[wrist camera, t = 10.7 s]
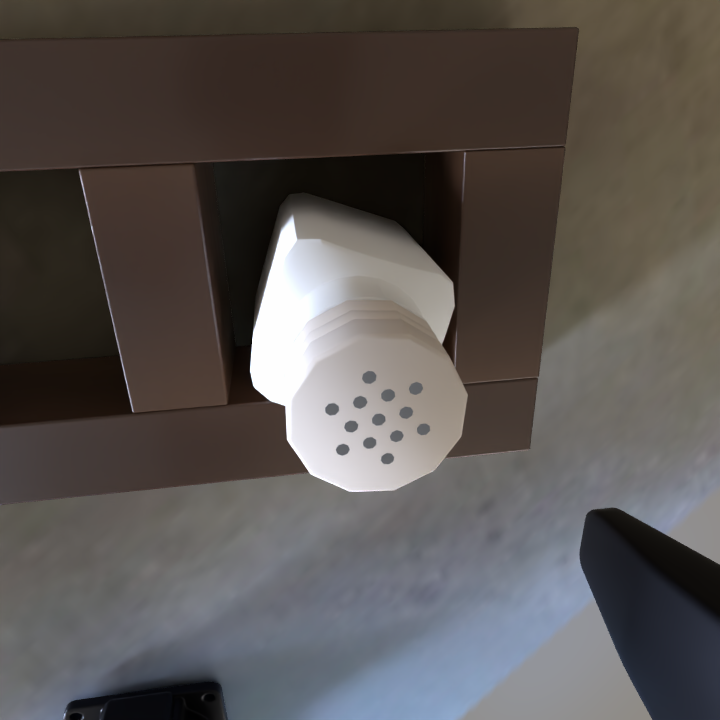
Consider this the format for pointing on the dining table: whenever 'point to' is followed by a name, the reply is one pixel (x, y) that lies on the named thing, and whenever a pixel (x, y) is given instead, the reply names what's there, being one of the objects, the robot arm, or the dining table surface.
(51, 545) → the dining table surface
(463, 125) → the stand
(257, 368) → the salt shaker
